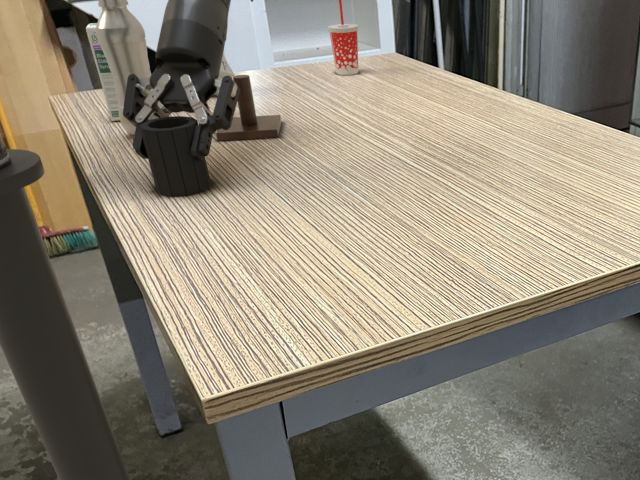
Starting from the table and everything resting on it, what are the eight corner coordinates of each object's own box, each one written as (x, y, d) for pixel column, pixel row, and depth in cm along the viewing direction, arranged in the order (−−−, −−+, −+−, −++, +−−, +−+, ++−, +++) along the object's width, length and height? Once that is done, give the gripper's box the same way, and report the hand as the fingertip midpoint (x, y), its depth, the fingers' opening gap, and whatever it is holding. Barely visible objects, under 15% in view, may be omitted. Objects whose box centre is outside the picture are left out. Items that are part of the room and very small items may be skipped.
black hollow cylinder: (152, 197, 86) (134, 131, 82) (162, 180, 92) (146, 117, 87) (206, 194, 87) (192, 128, 83) (213, 177, 92) (200, 114, 88)
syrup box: (110, 122, 117) (83, 26, 109) (116, 113, 122) (91, 21, 114) (147, 119, 118) (123, 24, 110) (151, 111, 123) (129, 19, 115)
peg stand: (217, 141, 107) (206, 84, 102) (224, 125, 114) (214, 71, 110) (278, 137, 108) (269, 81, 103) (281, 122, 115) (273, 69, 111)
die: (195, 105, 129) (221, 56, 125) (161, 75, 130) (186, 27, 127) (225, 111, 137) (249, 66, 133) (192, 83, 138) (216, 38, 134)
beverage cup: (366, 73, 147) (360, -2, 139) (339, 77, 144) (331, 1, 137) (355, 68, 151) (348, -4, 144) (328, 71, 149) (319, -2, 141)
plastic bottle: (177, 132, 111) (144, -10, 100) (136, 142, 107) (96, -5, 96) (157, 125, 114) (123, -13, 104) (116, 134, 110) (76, -8, 99)
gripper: (123, 15, 86) (95, 139, 83) (234, 16, 84) (210, 143, 81) (156, 54, 94) (132, 169, 90) (259, 55, 92) (238, 173, 88)
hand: (169, 156), depth 86 cm, fingers closed on black hollow cylinder, 6 cm apart
